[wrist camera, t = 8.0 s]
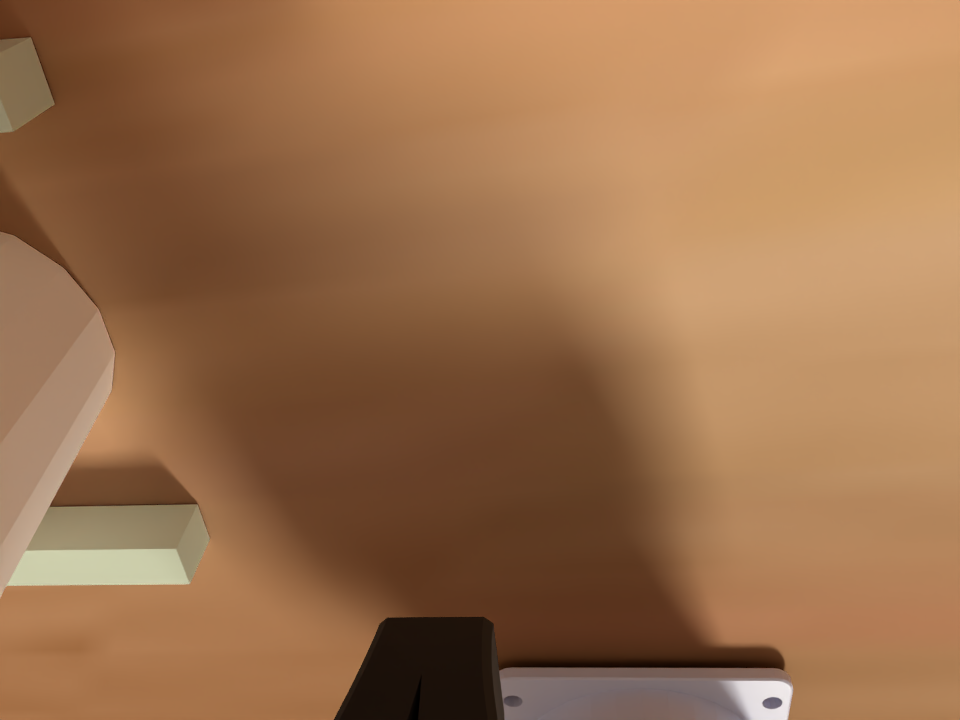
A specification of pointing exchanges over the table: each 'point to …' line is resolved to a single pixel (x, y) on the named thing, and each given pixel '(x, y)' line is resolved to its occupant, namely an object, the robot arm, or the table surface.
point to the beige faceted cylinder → (43, 387)
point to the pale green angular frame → (94, 529)
